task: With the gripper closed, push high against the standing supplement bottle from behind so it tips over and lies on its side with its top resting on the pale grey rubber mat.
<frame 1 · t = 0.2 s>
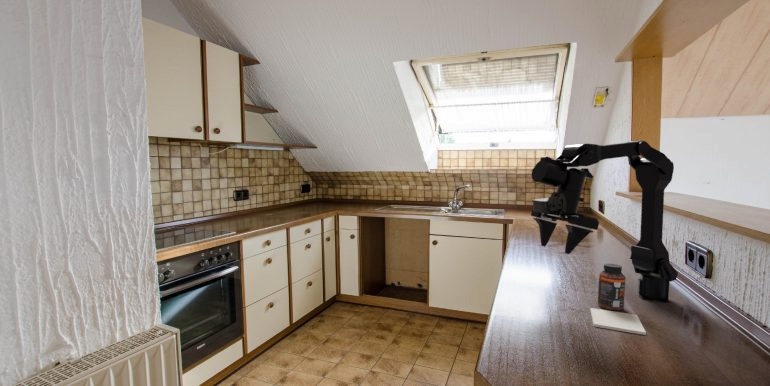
hand: (554, 249, 96), 15 cm above the countertop, tool pointing down, fingers open, 9 cm apart
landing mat: (615, 321, 88), on the countertop
supplement bottle: (610, 307, 98), on the countertop
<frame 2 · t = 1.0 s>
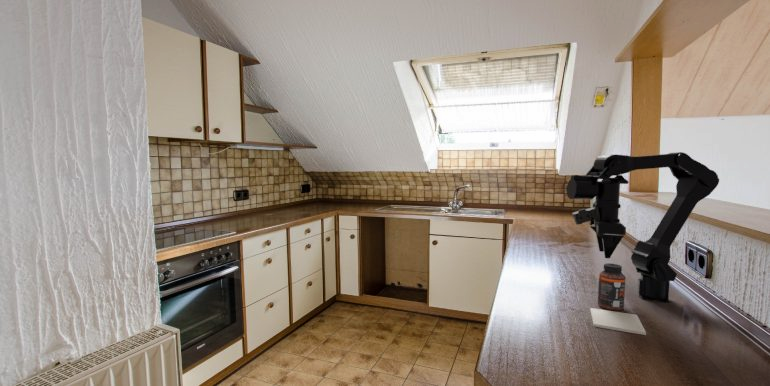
hand: (604, 254, 105), 12 cm above the countertop, tool pointing down, fingers open, 9 cm apart
nothing on the countertop moved.
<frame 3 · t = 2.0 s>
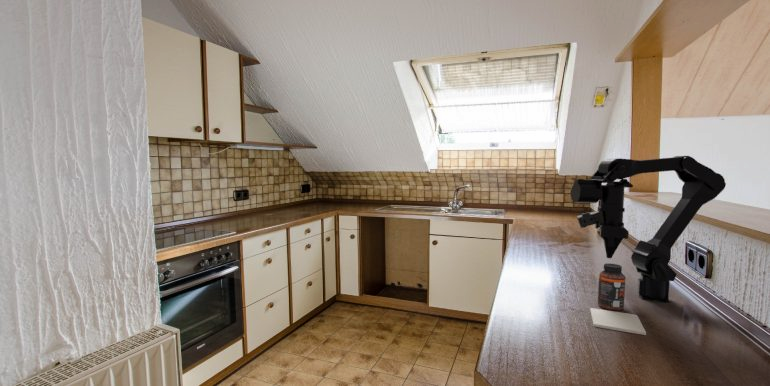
hand: (608, 258, 105), 11 cm above the countertop, tool pointing down, fingers closed
nothing on the countertop moved.
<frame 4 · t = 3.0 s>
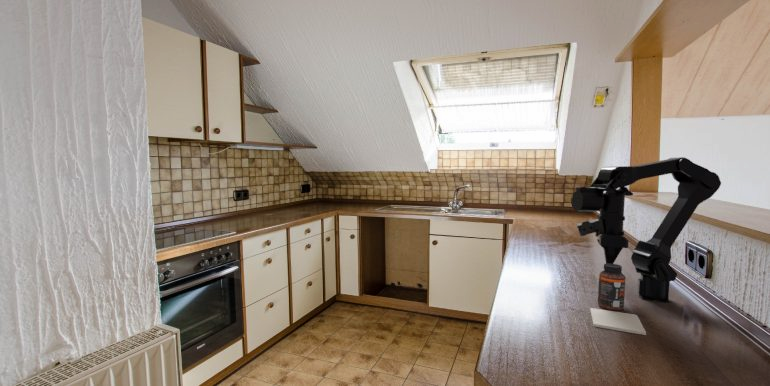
hand: (608, 266, 104), 9 cm above the countertop, tool pointing down, fingers closed
nothing on the countertop moved.
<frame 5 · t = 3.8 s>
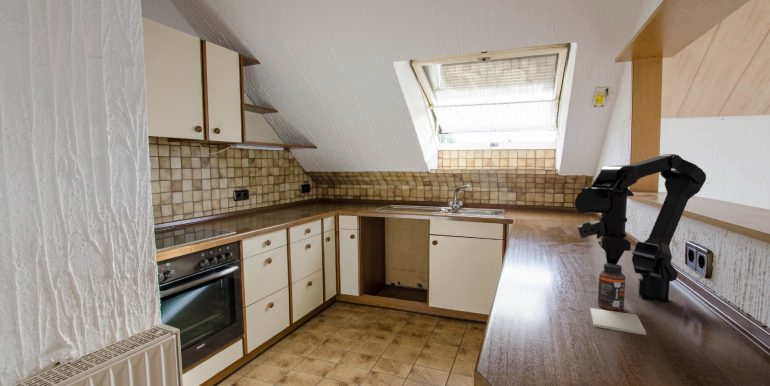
hand: (610, 270, 100), 9 cm above the countertop, tool pointing down, fingers closed
supplement bottle: (610, 307, 98), on the countertop, touching gripper
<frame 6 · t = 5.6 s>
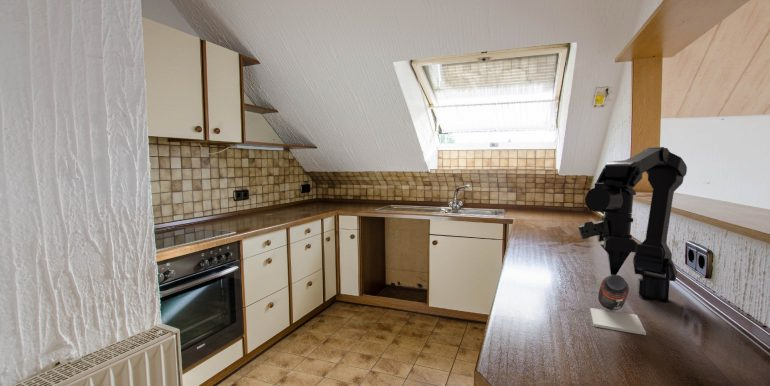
hand: (613, 275, 92), 10 cm above the countertop, tool pointing down, fingers closed, pressing on supplement bottle
supplement bottle: (610, 300, 97), point 2 cm above the countertop, touching gripper
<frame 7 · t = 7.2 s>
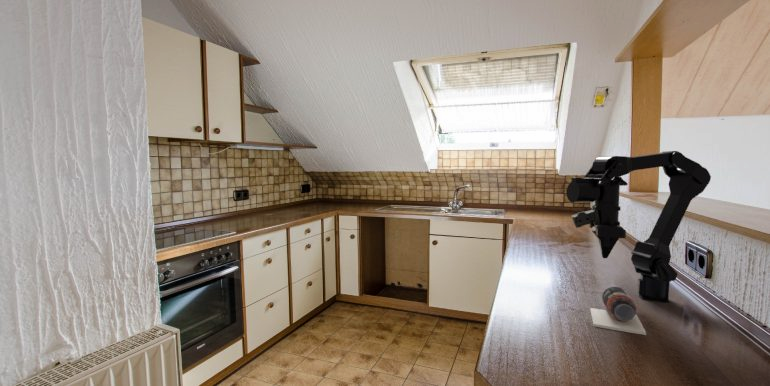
hand: (604, 257, 103), 12 cm above the countertop, tool pointing down, fingers closed
supplement bottle: (614, 297, 95), point 4 cm above the countertop, touching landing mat
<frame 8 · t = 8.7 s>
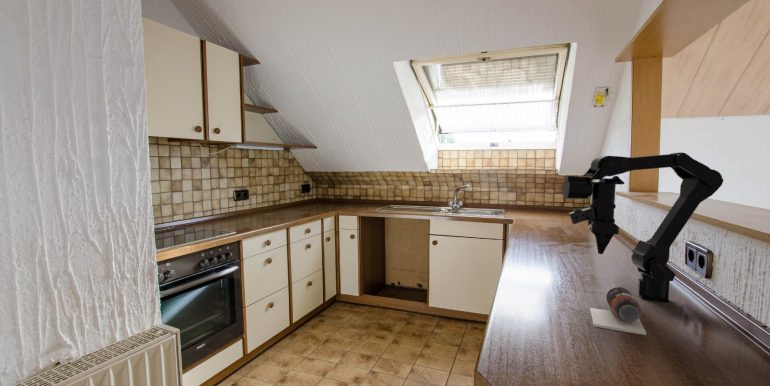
hand: (600, 253, 107), 12 cm above the countertop, tool pointing down, fingers closed
at the end: supplement bottle tilted 90°; supplement bottle inside the target area (5.1 cm from its centre), point 3.6 cm above the countertop; the gripper is holding nothing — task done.
